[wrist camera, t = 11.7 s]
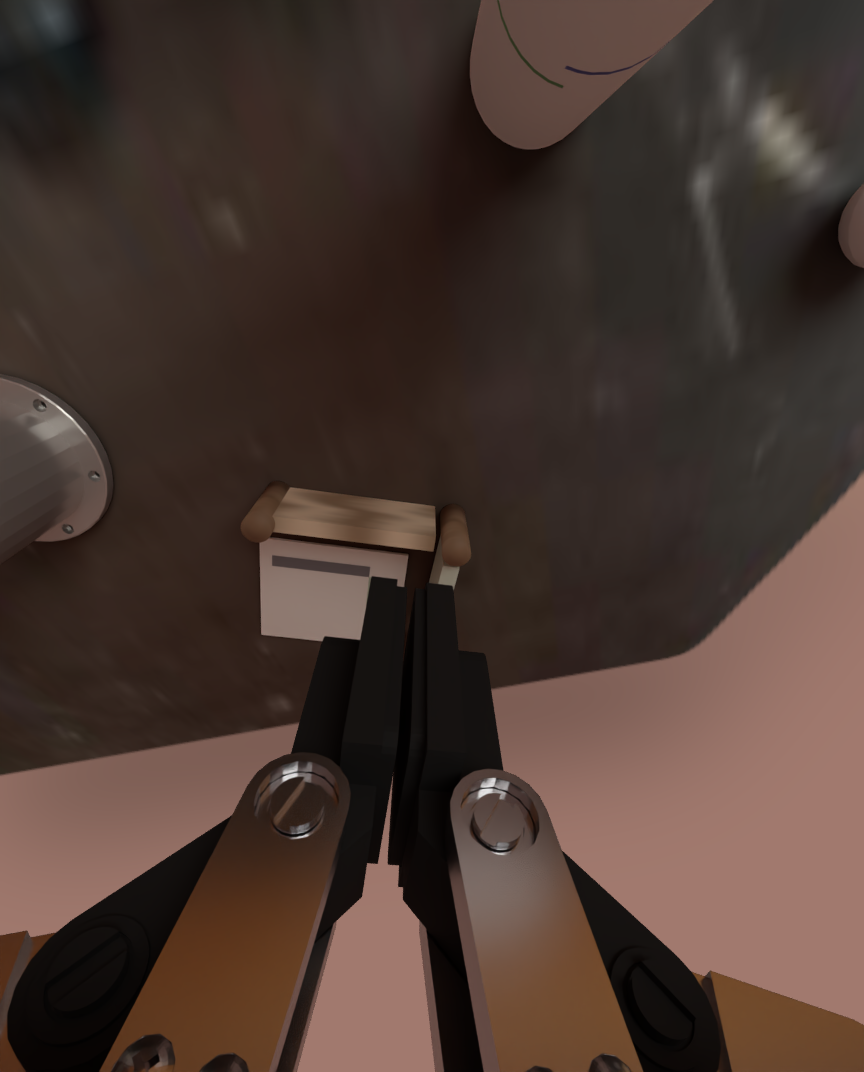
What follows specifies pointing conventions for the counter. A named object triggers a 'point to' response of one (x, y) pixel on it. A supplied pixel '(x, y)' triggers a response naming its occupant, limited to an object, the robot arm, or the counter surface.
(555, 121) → the cylindrical container
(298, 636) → the card
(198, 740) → the counter surface
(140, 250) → the counter surface
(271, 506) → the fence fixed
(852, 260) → the pinkish brown egg
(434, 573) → the cream flat slab
